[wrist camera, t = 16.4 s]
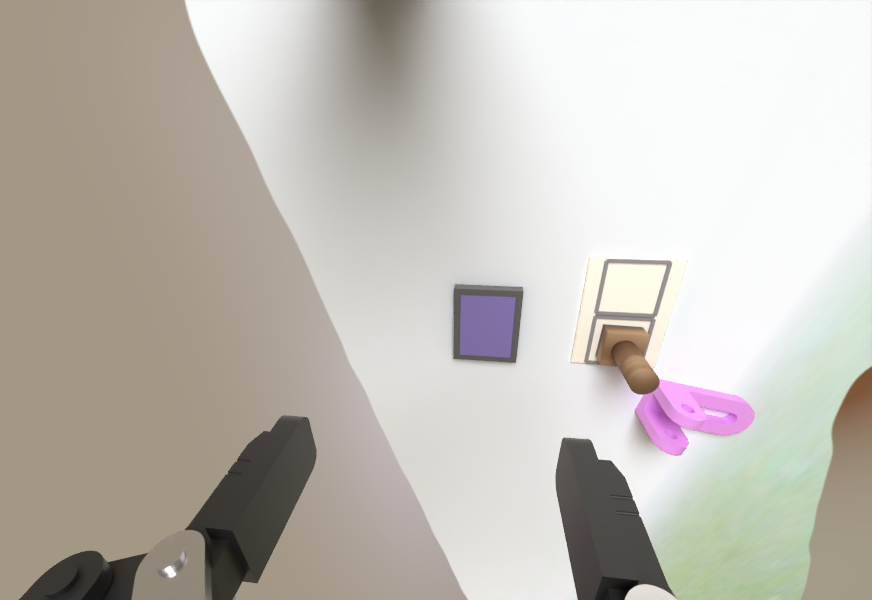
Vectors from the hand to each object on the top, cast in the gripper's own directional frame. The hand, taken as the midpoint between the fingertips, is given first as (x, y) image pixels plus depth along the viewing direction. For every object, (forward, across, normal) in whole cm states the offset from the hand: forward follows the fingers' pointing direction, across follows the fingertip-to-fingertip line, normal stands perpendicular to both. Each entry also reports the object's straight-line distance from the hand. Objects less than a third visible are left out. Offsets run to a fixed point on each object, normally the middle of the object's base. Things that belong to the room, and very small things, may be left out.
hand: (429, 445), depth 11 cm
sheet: (+31, -19, +12) cm, 38 cm away
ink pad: (+31, -3, +14) cm, 34 cm away
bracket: (+31, -30, +24) cm, 49 cm away
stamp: (+31, -19, +15) cm, 39 cm away
